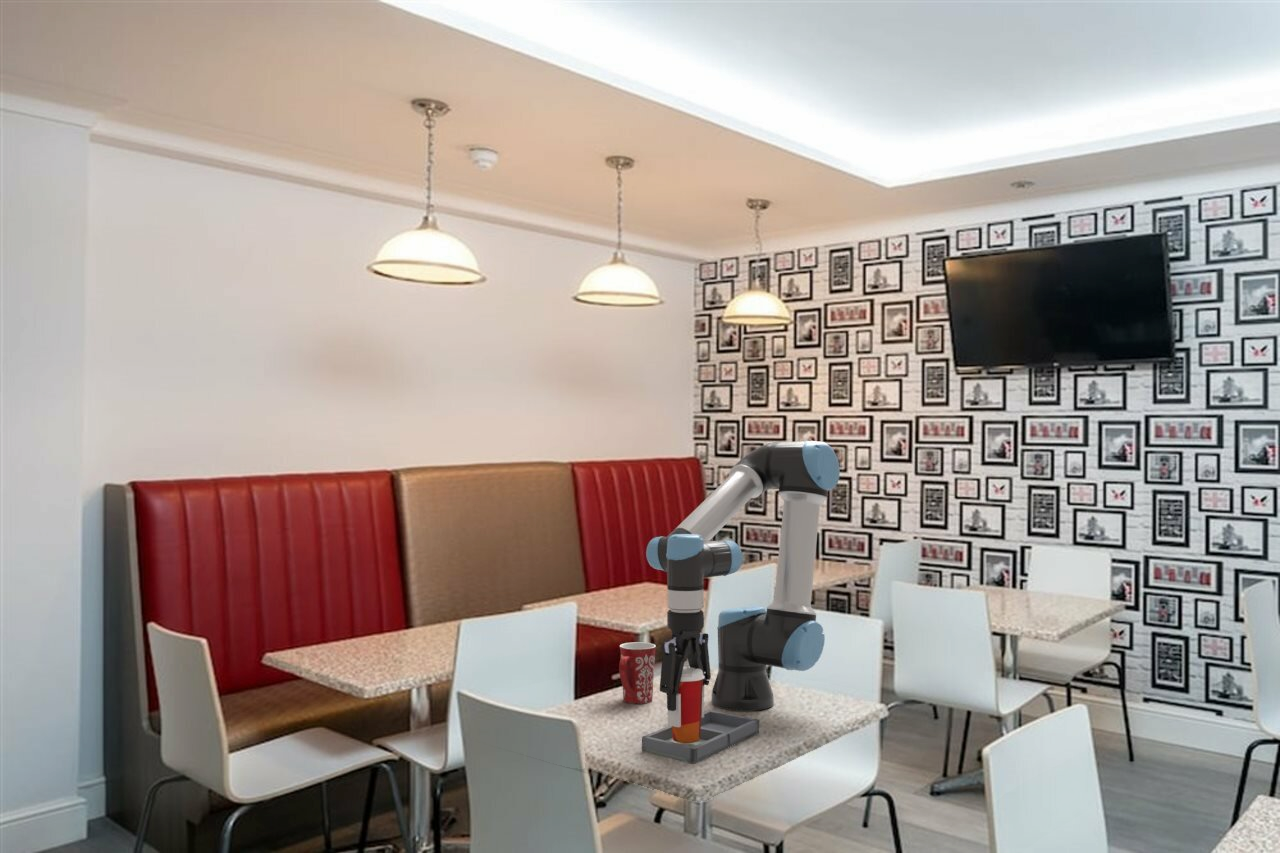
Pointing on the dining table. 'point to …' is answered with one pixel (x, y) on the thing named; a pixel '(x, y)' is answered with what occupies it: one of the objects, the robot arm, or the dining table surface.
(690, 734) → the paper cup
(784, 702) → the dining table surface
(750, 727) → the cup carrier
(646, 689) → the mug
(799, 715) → the dining table surface
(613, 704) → the dining table surface
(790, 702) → the dining table surface
